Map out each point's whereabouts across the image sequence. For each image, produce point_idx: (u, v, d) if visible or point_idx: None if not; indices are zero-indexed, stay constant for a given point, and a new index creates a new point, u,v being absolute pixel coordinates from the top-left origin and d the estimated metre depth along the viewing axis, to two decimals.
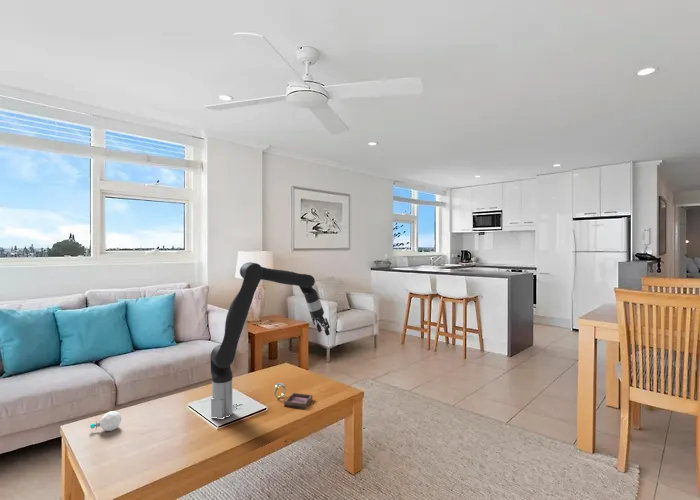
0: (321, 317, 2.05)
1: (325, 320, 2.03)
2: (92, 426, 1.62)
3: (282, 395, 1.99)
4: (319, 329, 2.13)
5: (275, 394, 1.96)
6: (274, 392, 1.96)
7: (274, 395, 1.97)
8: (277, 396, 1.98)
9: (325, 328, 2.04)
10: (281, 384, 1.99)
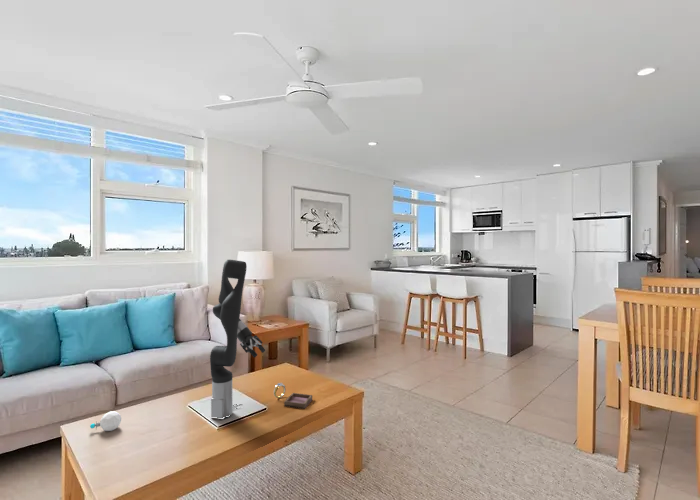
0: None
1: None
2: (92, 426, 1.62)
3: (282, 395, 1.99)
4: None
5: (275, 394, 1.96)
6: (274, 392, 1.96)
7: (274, 395, 1.97)
8: (277, 396, 1.98)
9: (261, 342, 2.07)
10: (281, 384, 1.99)
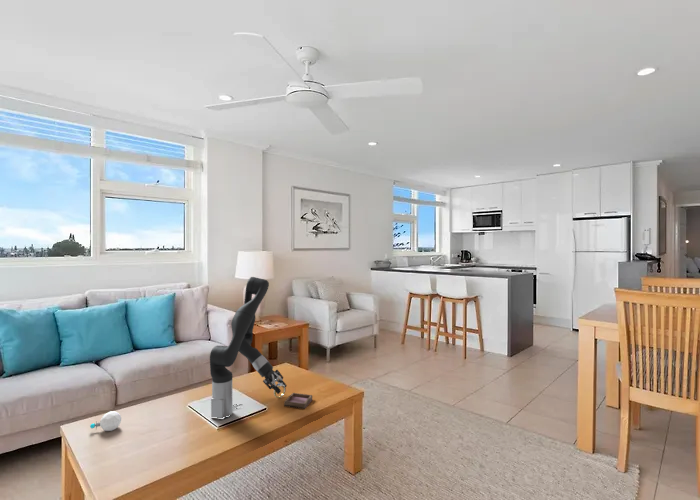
0: None
1: None
2: (92, 426, 1.62)
3: (282, 395, 1.99)
4: None
5: (275, 394, 1.96)
6: (274, 392, 1.96)
7: (274, 395, 1.97)
8: (277, 396, 1.98)
9: (282, 377, 2.04)
10: (281, 384, 1.99)
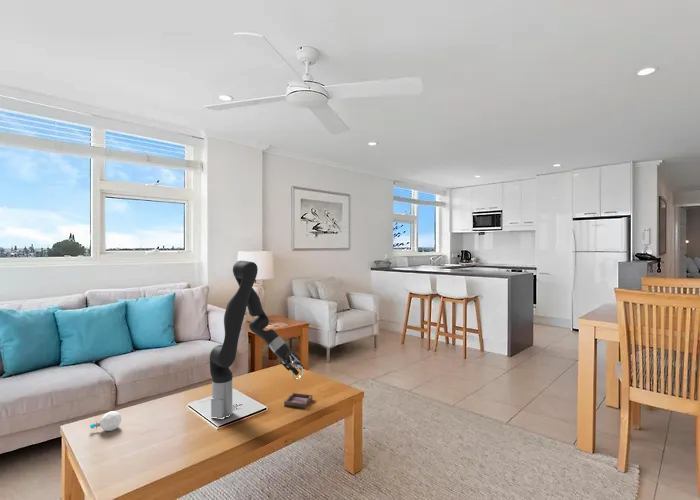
0: None
1: None
2: (92, 426, 1.62)
3: (300, 377, 1.94)
4: None
5: (293, 376, 1.90)
6: (292, 374, 1.90)
7: (292, 377, 1.91)
8: (295, 378, 1.93)
9: (299, 359, 1.99)
10: (299, 366, 1.93)
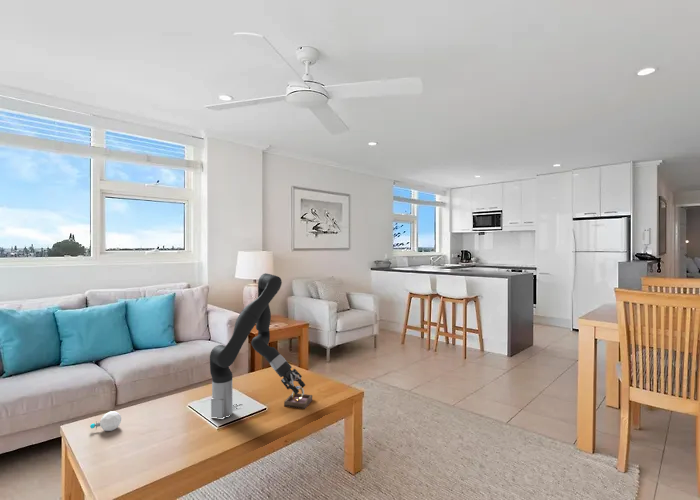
0: None
1: None
2: (92, 426, 1.62)
3: (300, 398, 1.93)
4: None
5: (293, 397, 1.90)
6: (292, 395, 1.90)
7: None
8: None
9: (300, 376, 1.99)
10: (299, 387, 1.92)
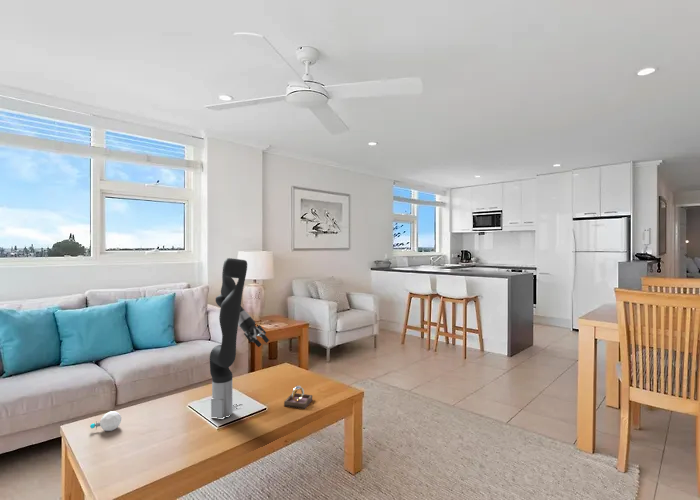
0: None
1: None
2: (92, 426, 1.62)
3: (300, 398, 1.93)
4: None
5: (293, 397, 1.90)
6: (292, 395, 1.90)
7: None
8: None
9: (264, 332, 2.06)
10: (299, 387, 1.92)
